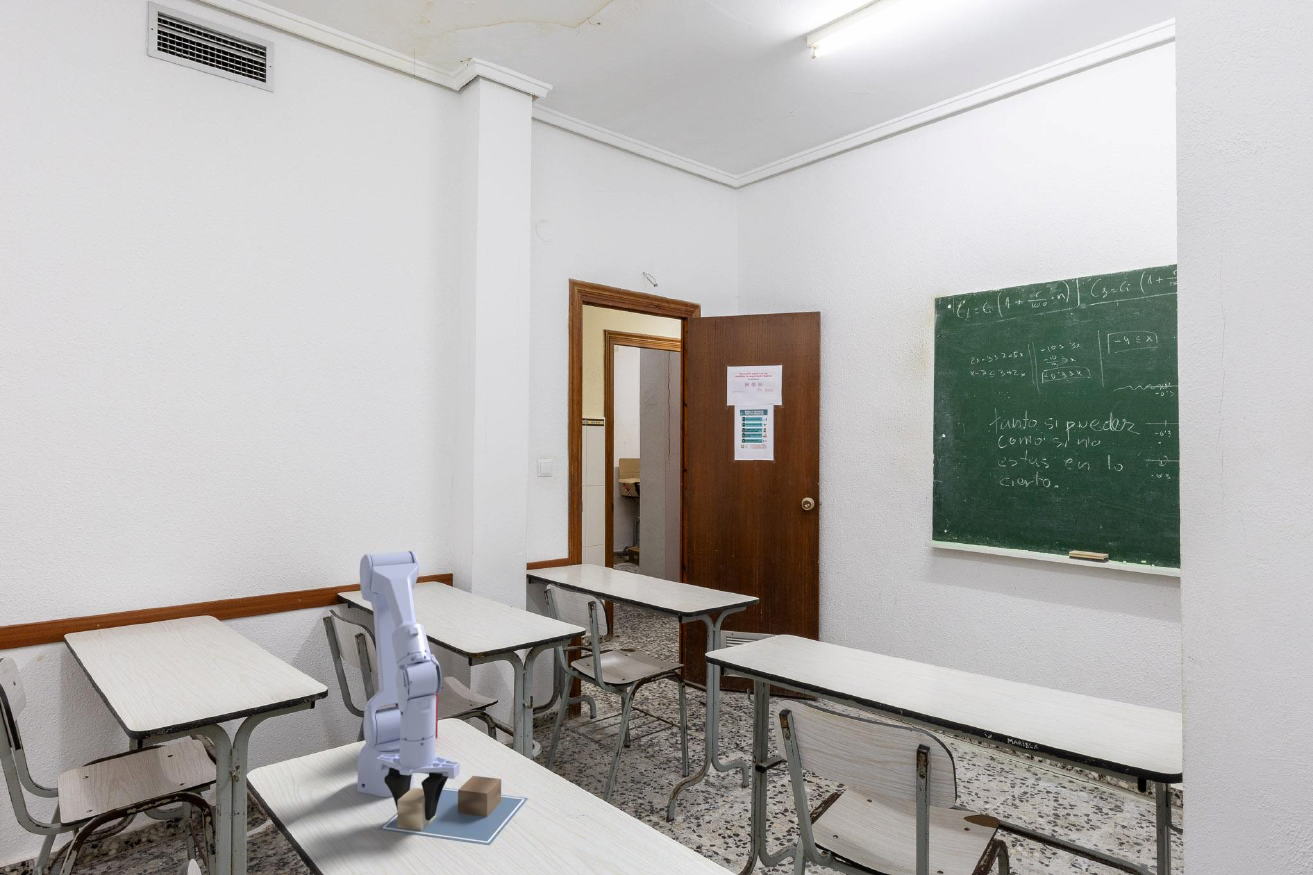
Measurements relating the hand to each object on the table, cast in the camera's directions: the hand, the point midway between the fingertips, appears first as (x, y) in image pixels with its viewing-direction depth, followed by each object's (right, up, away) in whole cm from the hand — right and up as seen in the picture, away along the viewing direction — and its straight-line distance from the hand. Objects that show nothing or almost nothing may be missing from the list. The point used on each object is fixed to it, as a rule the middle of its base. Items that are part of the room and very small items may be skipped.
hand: (416, 815), depth 120 cm
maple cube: (0, -1, 0) cm, 1 cm away
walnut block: (+9, -1, +5) cm, 11 cm away
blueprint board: (+6, -2, +3) cm, 7 cm away
